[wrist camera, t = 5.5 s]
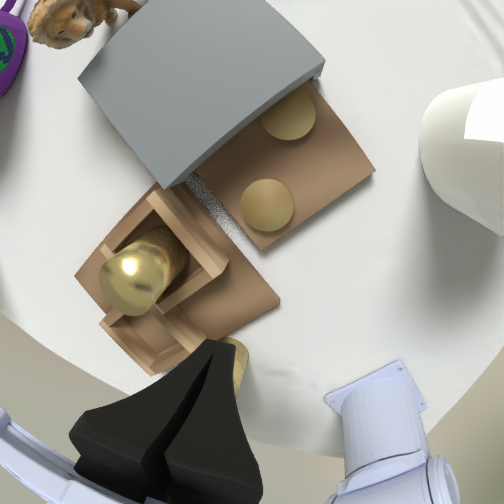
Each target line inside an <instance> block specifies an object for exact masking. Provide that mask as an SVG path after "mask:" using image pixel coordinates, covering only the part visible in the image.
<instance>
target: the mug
mask: <svg viewBox="0 0 504 504" xmlns="http://www.w3.org/2000/svg"><path fill="white" fill-rule="evenodd" d="M16 1H17V0H7V1H6V2H5V4H4V6H3V7H2V8H1V9H0V97H1V96H2V95H3V94H4V93H5V92H6V90H7V89H8V88H9V86H10V85H11V83H12V81H13V80H14V78H15V76H16V74H17V71H18V69H19V67H20V64H21V61H22V58H23V55H24V50H25V45H26V27H25V24H24V23H23V21H22V20H21V19H20V18H19V17H17V16H14V15H12V14H10V13H9V12H10V11H11V9H12V8H13V6H14V4H15V3H16Z"/></svg>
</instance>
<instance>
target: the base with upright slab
mask: <svg viewBox="0 0 504 504" xmlns="http://www.w3.org/2000/svg"><path fill="white" fill-rule="evenodd" d="M419 151H420V160H421V163H422V167H423V170H424V173H425V176H426V178H427V180H428V182H429V183H430V185H431V187H432V189H433V191H434V192H435V193H436V194H437V195H438V196H439V197H440V198H441V200H442V201H443V202H445V203H447V204H448V205H450V206H451V207H453V208H454V209H456V210H458V211H460V212H461V213H463V214H465V215H467V216H468V217H470V218H472V219H473V220H475V221H477V222H479V223H480V224H482V225H483V226H485V227H487V228H488V229H490V230H492V231H493V232H495V233H496V234H498V235H499V236H502V237H504V78H501V79H495V80H490V81H485V82H481V83H476V84H472V85H467V86H463V87H459V88H455V89H451V90H447V91H444V92H443V93H441V94H440V95H439V96H437V97H436V98H434V100H433V101H432V102H431V104H430V105H429V106H428V108H427V109H426V111H425V114H424V116H423V119H422V122H421V125H420V133H419Z"/></svg>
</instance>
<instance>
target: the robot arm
mask: <svg viewBox="0 0 504 504" xmlns="http://www.w3.org/2000/svg"><path fill="white" fill-rule="evenodd" d="M235 352H236V346H235V345H234V344H230V343H225V342H220V341H216V340H211V339H205V340H204V341H203V342H202V343H201V344H200V345H199V346H198V347H197V348H196V349H195V350H194V351H193V352H192V353H191V354H190V355H189V356H188V357H187V358H186V359H185V360H183V361H182V362H181V363H180V364H179V365H178V366H177V367H175V368H174V369H173V370H171V371H170V372H169V373H168V374H166V375H165V376H164V377H162V378H161V379H159V380H158V381H156V382H155V383H153V384H152V385H150V386H148V387H147V388H145V389H143V390H141V391H139V392H137V393H135V394H133V395H131V396H129V397H127V398H125V399H122V400H120V401H117V402H115V403H112V404H109V405H106V406H103V407H99V408H96V409H92V410H88V411H85V412H84V413H83V414H82V416H81V417H80V418H79V419H78V421H77V422H76V423H75V425H74V426H73V428H72V429H71V431H70V432H69V438H70V440H71V442H72V443H73V445H74V446H75V448H76V449H77V451H78V452H79V453H80V455H81V456H80V458H79V459H78V461H77V463H75V462H73V461H71V460H70V459H68V458H66V457H64V456H63V455H61V454H60V453H58V452H56V451H55V450H53V449H52V448H50V447H49V446H47V445H46V444H44V443H42V442H41V441H39V440H38V439H37V438H35V437H34V436H32V435H31V434H30V433H28V432H27V431H26V430H24V429H23V428H21V427H20V426H19V425H18V424H16V423H15V422H13V420H11V418H10V416H9V415H8V413H7V412H6V411H5V410H4V409H3V408H2V407H1V406H0V464H1V465H2V466H3V467H4V468H5V469H6V470H8V471H9V472H10V473H11V474H12V475H13V476H15V477H16V478H17V479H18V480H19V481H21V482H22V483H23V484H24V485H26V486H27V487H28V488H30V489H31V490H32V491H33V492H35V493H36V494H37V495H39V496H40V497H41V498H43V499H44V500H46V501H47V504H259V502H260V500H261V498H262V496H263V484H262V479H261V475H260V471H259V466H258V463H257V461H256V459H255V457H254V455H253V453H252V451H251V449H250V446H249V443H248V441H247V438H246V435H245V433H244V430H243V427H242V424H241V420H240V416H239V413H238V408H237V404H236V398H235V392H234V384H233V371H234V362H235ZM398 368H400V369H398ZM325 402H326V403H328V404H329V405H330V406H331V407H332V408H333V409H334V410H335V411H336V412H337V413H338V414H339V415H340V416H341V417H342V419H343V437H344V459H345V480H343V481H341V482H338V483H337V493H335V494H333V495H332V496H330V497H329V498H328V499H327V501H326V503H325V504H461V502H460V494H459V489H458V485H457V482H456V478H455V475H454V472H453V470H452V467H451V465H450V463H449V462H448V460H447V459H446V458H444V457H440V456H439V455H435V456H433V457H431V456H430V450H429V446H428V442H427V438H426V434H425V430H424V426H423V423H422V419H421V416H420V412H422V411H424V410H425V409H426V408H427V404H426V402H425V400H424V399H423V397H422V395H421V393H420V391H419V390H418V388H417V386H416V384H415V383H414V381H413V379H412V378H411V376H410V374H409V373H408V371H407V369H406V367H405V366H404V364H403V362H402V361H401V360H397V361H394V362H393V363H391V364H389V365H387V366H385V367H383V368H381V369H380V370H378V371H376V372H374V373H372V374H370V375H368V376H366V377H364V378H362V379H360V380H358V381H356V382H354V383H351V384H349V385H347V386H345V387H343V388H341V389H338V390H336V391H334V392H332V393H329V394H327V395H326V396H325Z"/></svg>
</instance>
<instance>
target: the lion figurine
mask: <svg viewBox="0 0 504 504" xmlns="http://www.w3.org/2000/svg"><path fill="white" fill-rule="evenodd" d="M115 8H118V9H123V10H126V11H127V12H128V18H129V19H130V18H131V17H132V16H133V15H134V14H135V13H136V12H137V11H138V10H140V9H141V8H142V6H141V5H139V4H138V3H137V2H135V1H133V0H39V1H38V2H37V3H36V4H35V6H34V10H33V11H32V12H31V14H30V18H29V21H28V23H27V24H28V30H29V33H30V34H31V36H32V37H33V42H37V43H40V44H46V45H47V46H48V47H52V48H55V49H63V48H66V47H69V46H71V45H72V44H74V43H76V42H78V41H79V40H81V39H83V38H89V37H90V36H91V35H92V34H93V32H94V27H96V26H99V25H100V24H101V23H102V22H103V20H105V22H112V21H113V20H114V19H115V17H116V14H117V12H116V10H115Z"/></svg>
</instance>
